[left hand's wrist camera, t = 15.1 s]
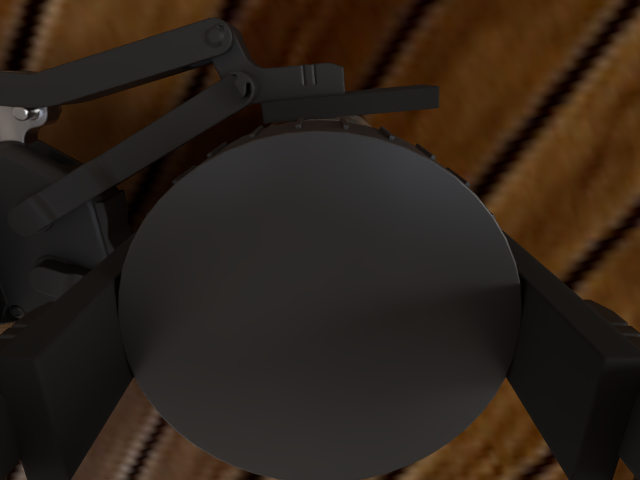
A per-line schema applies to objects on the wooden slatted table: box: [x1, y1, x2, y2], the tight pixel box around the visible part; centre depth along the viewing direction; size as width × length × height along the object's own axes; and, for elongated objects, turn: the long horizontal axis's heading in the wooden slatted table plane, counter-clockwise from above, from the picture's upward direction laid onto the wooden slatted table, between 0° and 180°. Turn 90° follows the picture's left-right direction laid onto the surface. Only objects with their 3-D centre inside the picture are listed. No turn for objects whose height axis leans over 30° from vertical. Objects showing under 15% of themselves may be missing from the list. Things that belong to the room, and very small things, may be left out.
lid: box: [118, 117, 522, 480], centre depth 11 cm, size 9×9×2 cm
